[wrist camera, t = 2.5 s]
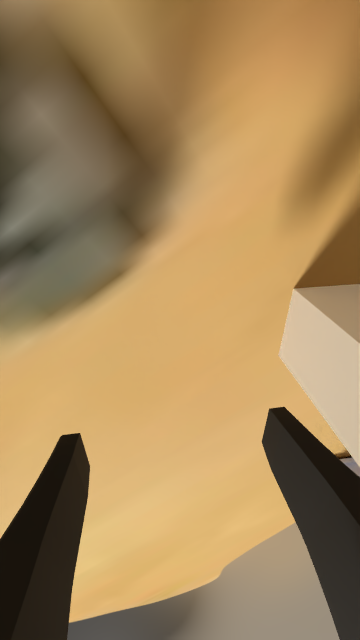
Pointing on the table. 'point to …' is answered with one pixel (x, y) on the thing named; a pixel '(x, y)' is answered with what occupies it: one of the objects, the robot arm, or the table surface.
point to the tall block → (327, 355)
